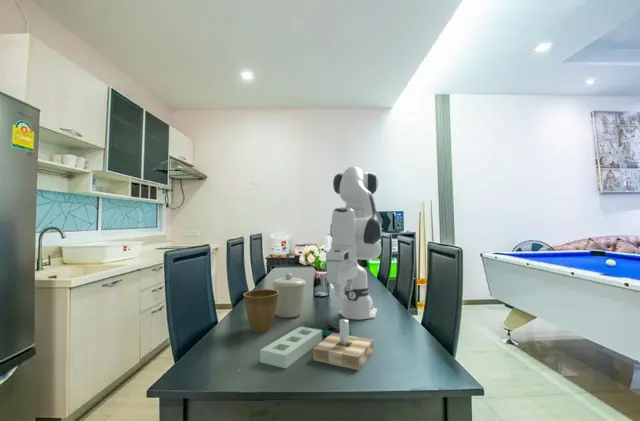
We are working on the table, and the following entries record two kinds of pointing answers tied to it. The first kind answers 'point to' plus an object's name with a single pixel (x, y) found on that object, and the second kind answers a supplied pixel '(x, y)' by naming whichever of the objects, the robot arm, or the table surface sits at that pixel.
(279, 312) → the canister
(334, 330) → the digital multimeter
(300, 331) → the block
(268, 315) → the plant pot
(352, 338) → the socket block
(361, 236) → the robot arm
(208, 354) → the table surface
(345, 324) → the steel peg
